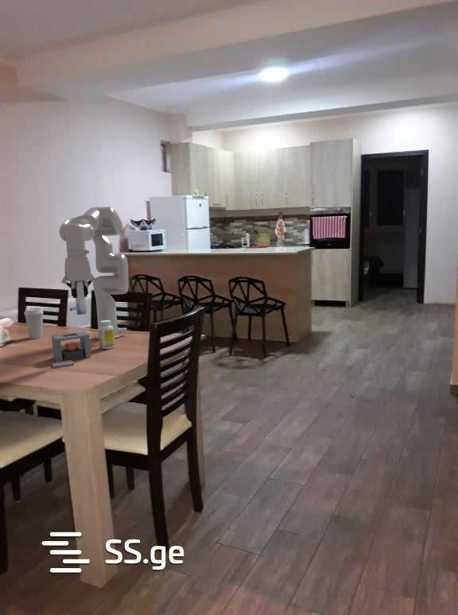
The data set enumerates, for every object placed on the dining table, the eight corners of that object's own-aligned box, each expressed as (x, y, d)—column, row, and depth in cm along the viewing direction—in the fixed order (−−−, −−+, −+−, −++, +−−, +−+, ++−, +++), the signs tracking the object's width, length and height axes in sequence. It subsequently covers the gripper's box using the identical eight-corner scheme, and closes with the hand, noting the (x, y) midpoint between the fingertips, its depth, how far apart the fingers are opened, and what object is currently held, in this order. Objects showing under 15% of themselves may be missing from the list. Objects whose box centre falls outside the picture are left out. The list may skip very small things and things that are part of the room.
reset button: (75, 347, 222) (75, 341, 222) (78, 350, 218) (77, 343, 218) (64, 349, 220) (64, 342, 219) (67, 351, 216) (66, 344, 215)
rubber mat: (70, 361, 213) (70, 359, 212) (74, 365, 207) (73, 363, 207) (51, 364, 209) (51, 363, 209) (54, 368, 204) (53, 366, 203)
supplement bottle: (117, 346, 237) (115, 319, 235) (109, 349, 231) (107, 322, 229) (105, 345, 240) (103, 319, 238) (97, 349, 233) (95, 322, 231)
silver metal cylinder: (85, 312, 217) (82, 280, 215) (87, 313, 214) (84, 281, 211) (75, 313, 215) (72, 281, 213) (78, 314, 212) (75, 282, 209)
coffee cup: (49, 336, 265) (47, 308, 262) (34, 340, 257) (31, 311, 254) (38, 334, 270) (35, 307, 267) (22, 338, 262) (19, 310, 259)
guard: (85, 353, 227) (84, 331, 225) (90, 357, 219) (89, 334, 217) (53, 357, 220) (51, 335, 218) (57, 362, 212) (55, 339, 211)
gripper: (93, 252, 217) (97, 294, 221) (53, 254, 209) (57, 298, 212) (98, 253, 211) (102, 296, 214) (57, 255, 203) (61, 300, 206)
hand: (80, 296), depth 213 cm, fingers closed on silver metal cylinder, 4 cm apart
